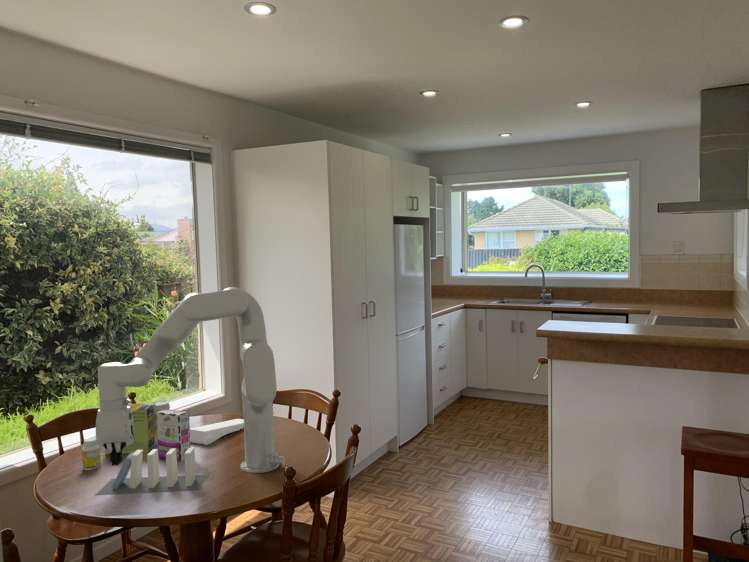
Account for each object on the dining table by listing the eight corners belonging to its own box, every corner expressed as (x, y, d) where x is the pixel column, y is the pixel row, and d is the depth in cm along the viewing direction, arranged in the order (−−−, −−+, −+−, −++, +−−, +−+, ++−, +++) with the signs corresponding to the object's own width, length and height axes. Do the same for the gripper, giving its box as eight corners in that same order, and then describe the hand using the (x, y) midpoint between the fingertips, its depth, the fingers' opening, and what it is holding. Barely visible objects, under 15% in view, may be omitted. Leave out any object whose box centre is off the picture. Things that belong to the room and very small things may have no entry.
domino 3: (177, 480, 175) (176, 448, 174) (172, 486, 170) (171, 453, 169) (172, 480, 175) (170, 448, 174) (167, 487, 170) (165, 454, 169)
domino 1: (141, 481, 174) (142, 449, 174) (135, 488, 169) (136, 455, 169) (136, 481, 174) (137, 449, 174) (129, 488, 169) (131, 455, 169)
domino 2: (159, 480, 174) (158, 449, 174) (153, 487, 169) (152, 454, 169) (154, 481, 174) (152, 449, 174) (148, 487, 169) (147, 455, 169)
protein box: (149, 452, 202) (147, 409, 201) (104, 455, 201) (102, 411, 200) (158, 443, 212) (156, 402, 212) (115, 445, 211) (113, 404, 210)
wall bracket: (237, 436, 236) (187, 449, 211) (234, 419, 237) (184, 429, 212) (256, 433, 231) (207, 445, 206) (253, 415, 233) (204, 425, 208)
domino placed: (123, 482, 174) (137, 453, 174) (116, 489, 169) (131, 459, 169) (118, 480, 174) (132, 451, 174) (111, 487, 169) (126, 457, 169)
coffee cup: (151, 430, 228) (150, 401, 228) (173, 429, 229) (172, 399, 228) (145, 437, 220) (144, 406, 219) (168, 435, 221) (166, 405, 220)
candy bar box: (192, 458, 195) (190, 411, 194) (180, 463, 190) (178, 415, 190) (168, 453, 200) (166, 408, 199) (157, 458, 196) (155, 411, 195)
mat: (208, 476, 179) (208, 474, 179) (199, 491, 167) (199, 490, 167) (111, 480, 177) (111, 478, 177) (94, 496, 165) (94, 495, 165)
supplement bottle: (100, 469, 187) (99, 440, 187) (82, 472, 185) (80, 443, 184) (100, 463, 192) (99, 435, 192) (83, 466, 190) (81, 438, 189)
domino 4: (195, 479, 175) (194, 447, 174) (191, 485, 170) (189, 453, 169) (190, 479, 175) (189, 447, 174) (185, 486, 170) (184, 453, 169)
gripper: (143, 399, 174) (146, 458, 175) (93, 401, 174) (96, 460, 174) (134, 406, 167) (137, 467, 168) (82, 408, 166) (85, 469, 167)
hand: (116, 463), depth 171 cm, fingers closed
